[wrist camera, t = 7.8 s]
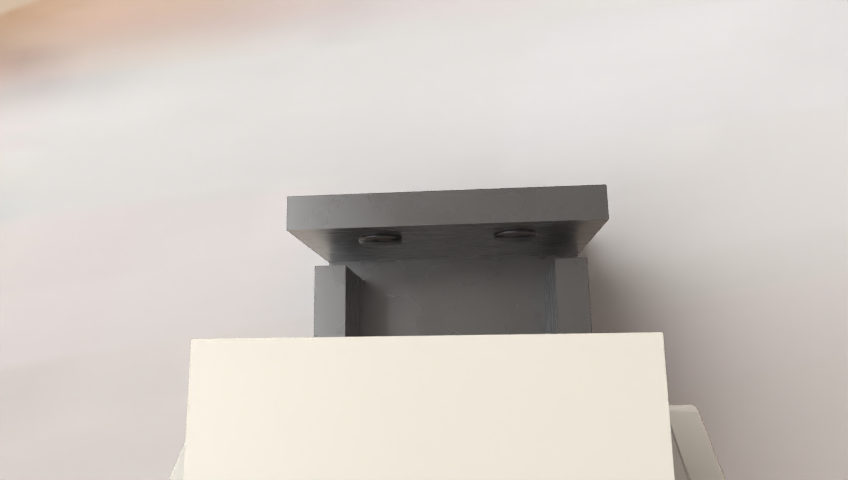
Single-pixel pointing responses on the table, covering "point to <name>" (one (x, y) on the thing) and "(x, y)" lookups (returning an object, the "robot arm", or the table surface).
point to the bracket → (451, 260)
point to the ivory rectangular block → (429, 408)
